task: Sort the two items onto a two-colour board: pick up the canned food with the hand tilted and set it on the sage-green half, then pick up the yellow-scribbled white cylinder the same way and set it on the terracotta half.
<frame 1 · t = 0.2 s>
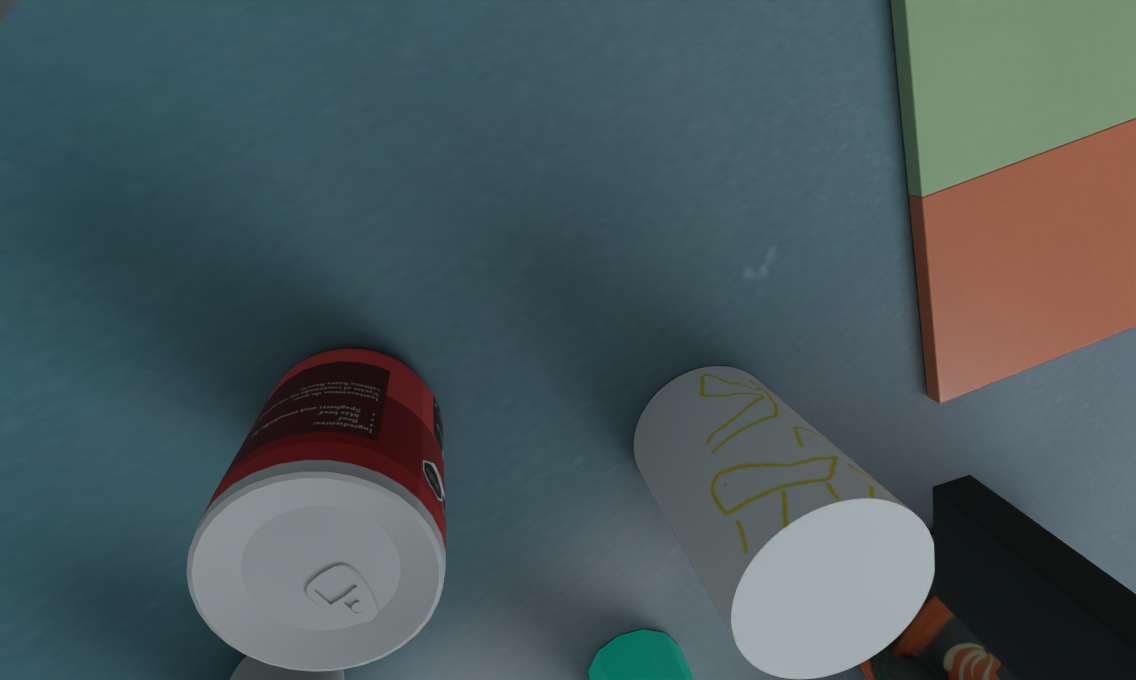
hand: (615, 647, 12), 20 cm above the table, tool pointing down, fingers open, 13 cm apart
yellow-scribbled white cylinder: (704, 434, 34), on the table
tankard: (917, 606, 43), on the table
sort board: (1023, 152, 32), on the table
candle: (634, 665, 39), on the table
canned food: (359, 417, 30), on the table
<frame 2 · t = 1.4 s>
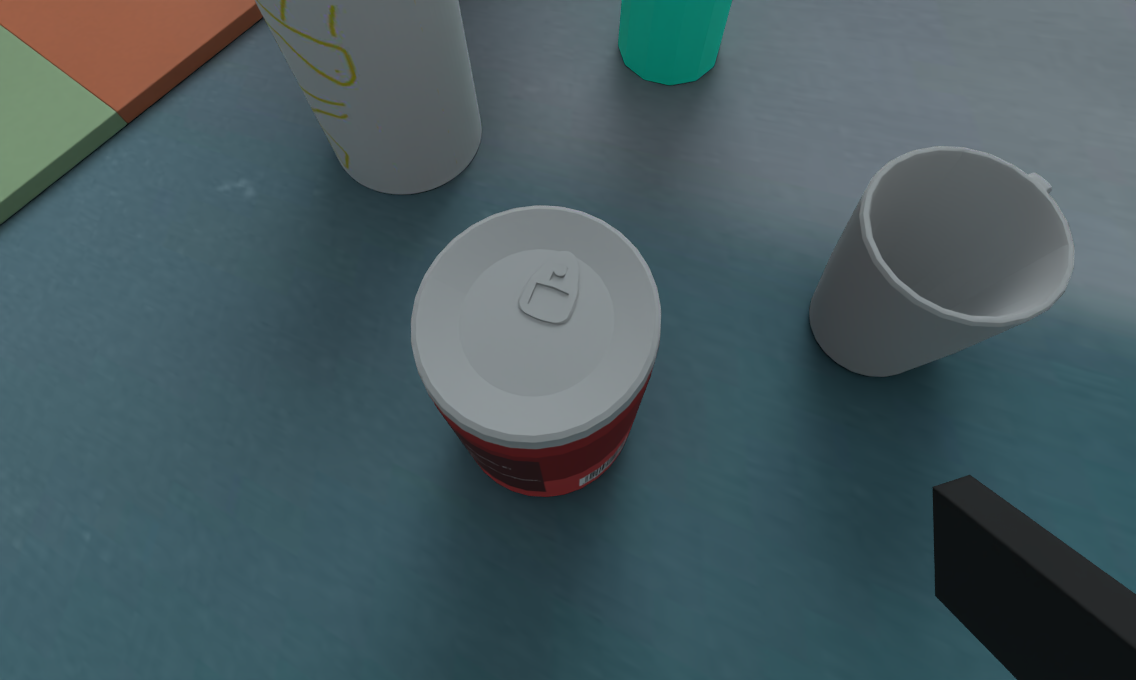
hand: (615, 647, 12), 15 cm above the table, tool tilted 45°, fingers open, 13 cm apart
cup 2: (882, 312, 31), on the table
yellow-scribbled white cylinder: (409, 135, 36), on the table
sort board: (57, 70, 37), on the table
candle: (668, 48, 38), on the table
canned food: (548, 413, 30), on the table
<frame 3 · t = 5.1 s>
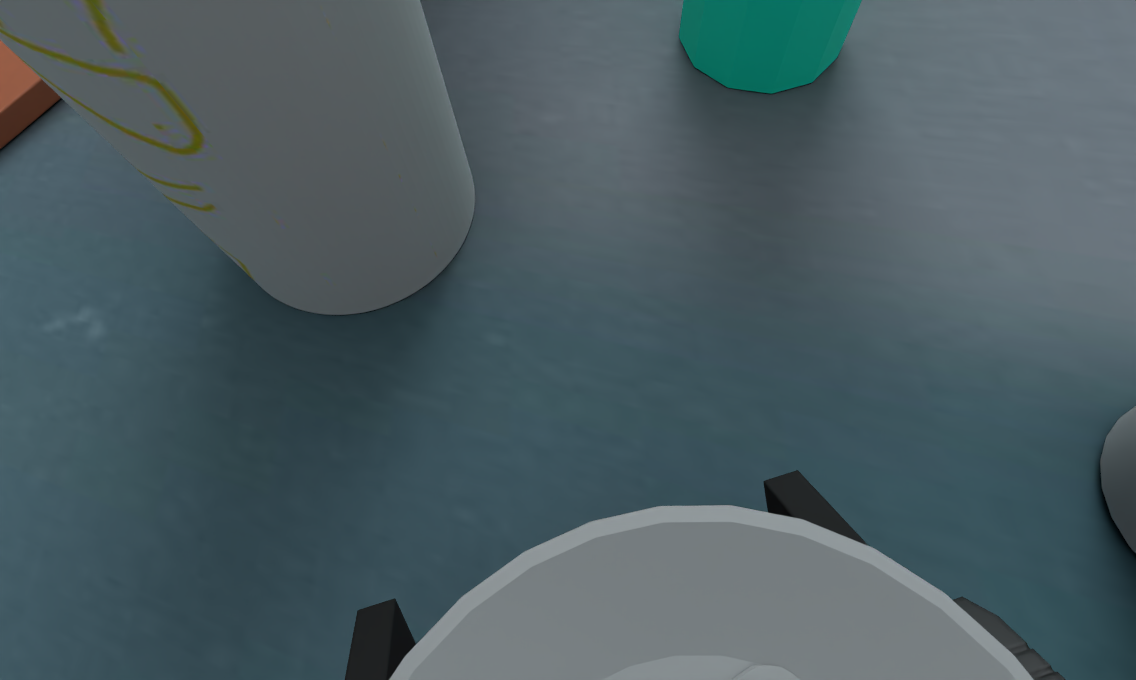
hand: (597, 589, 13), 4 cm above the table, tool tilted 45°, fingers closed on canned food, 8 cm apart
yellow-scribbled white cylinder: (358, 209, 22), on the table
candle: (757, 36, 24), on the table
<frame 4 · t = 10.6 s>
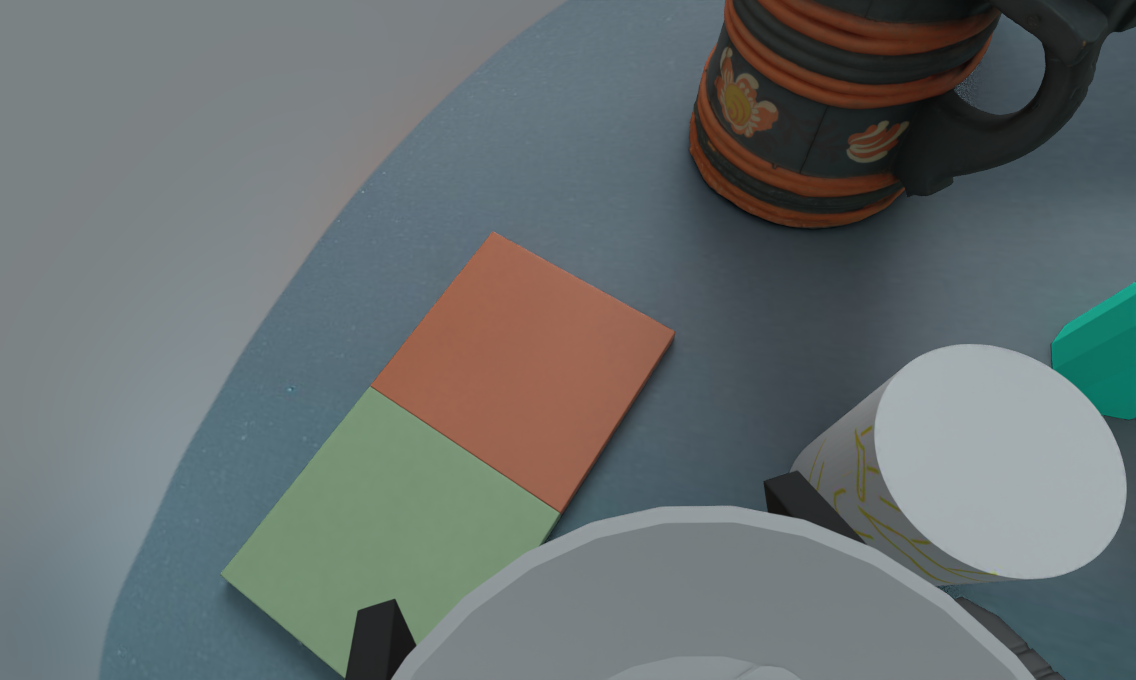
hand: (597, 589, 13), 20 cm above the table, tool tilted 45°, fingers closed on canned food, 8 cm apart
yellow-scribbled white cylinder: (864, 505, 33), on the table
tankard: (822, 162, 42), on the table
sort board: (464, 450, 35), on the table
candle: (1105, 368, 35), on the table
when the fingers open (4 cm above the table, at t = 16.4 s): canned food stays where it is, resting on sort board.
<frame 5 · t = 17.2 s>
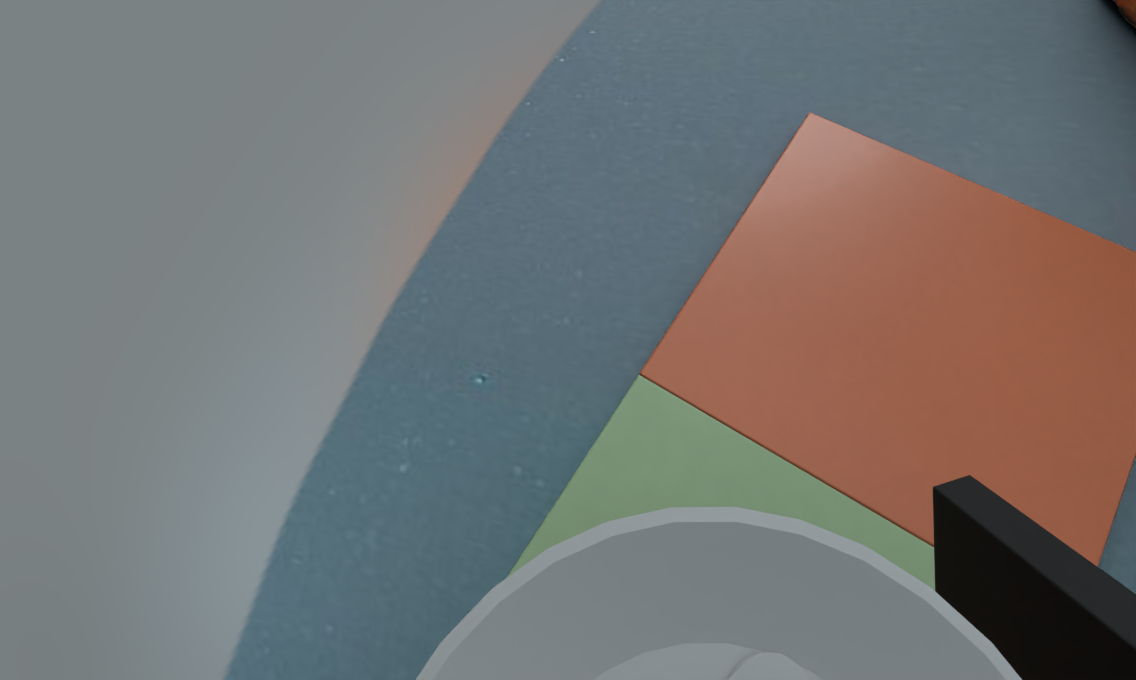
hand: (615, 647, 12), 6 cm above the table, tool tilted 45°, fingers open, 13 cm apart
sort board: (826, 496, 19), on the table
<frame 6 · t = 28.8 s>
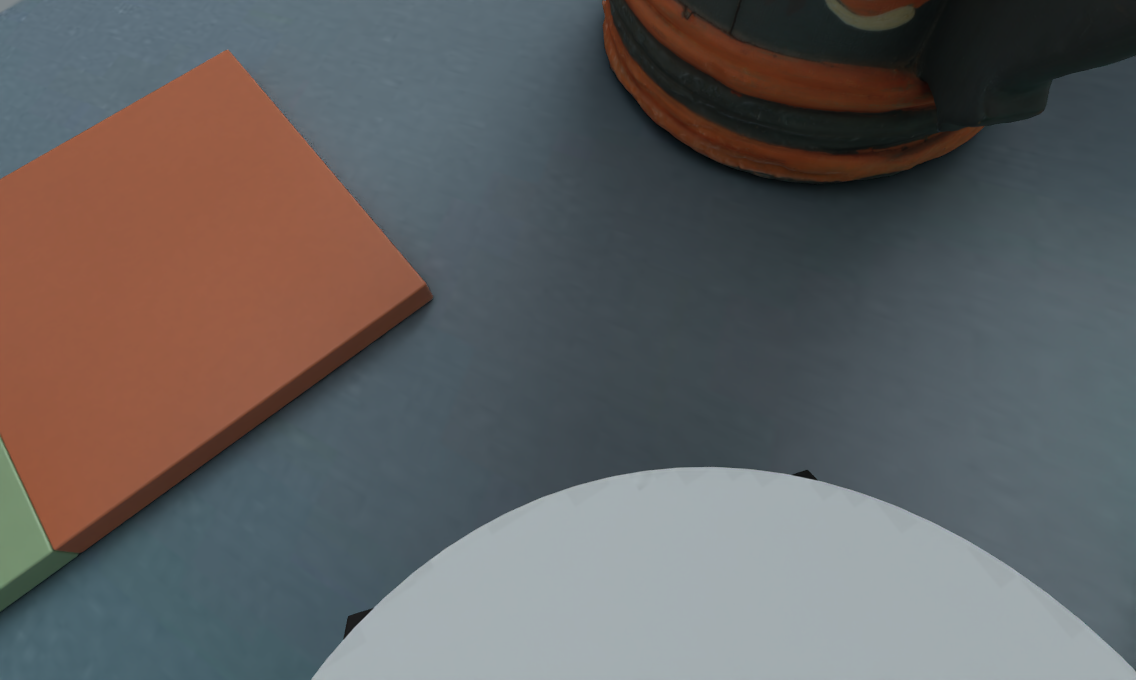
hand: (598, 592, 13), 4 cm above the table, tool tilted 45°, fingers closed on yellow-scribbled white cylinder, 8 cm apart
tankard: (826, 78, 23), on the table
when the fingers open (5 cm above the table, at t = 37.9 s): yellow-scribbled white cylinder stays where it is, resting on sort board.
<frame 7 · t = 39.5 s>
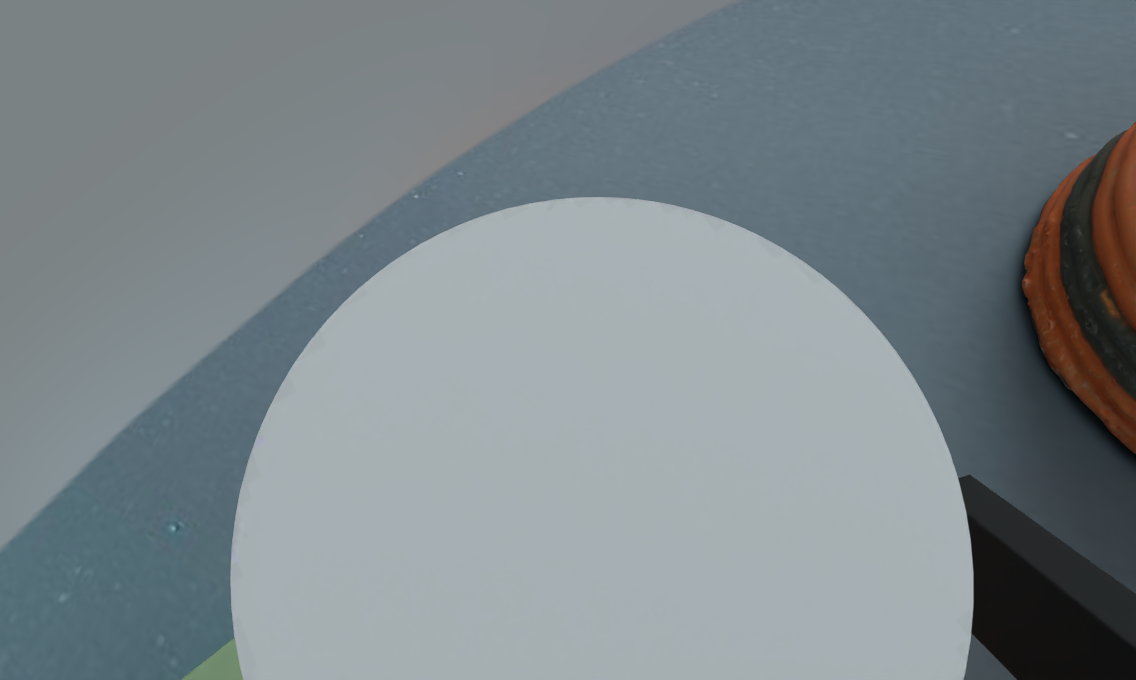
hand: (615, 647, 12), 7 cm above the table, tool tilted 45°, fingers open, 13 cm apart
yellow-scribbled white cylinder: (597, 566, 18), point 1 cm above the table, touching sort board
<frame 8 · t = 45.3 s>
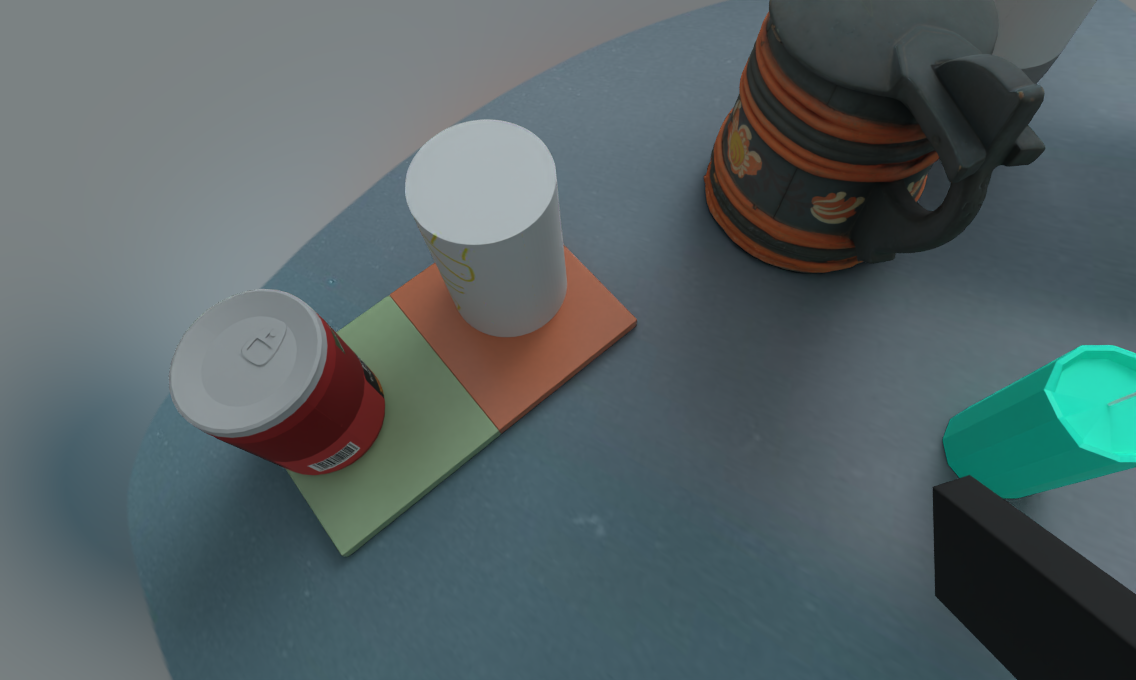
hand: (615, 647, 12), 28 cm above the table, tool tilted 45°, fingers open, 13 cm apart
yellow-scribbled white cylinder: (510, 285, 45), point 1 cm above the table, touching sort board
tankard: (814, 216, 47), on the table
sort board: (444, 364, 44), on the table
candle: (990, 452, 40), on the table
smart speaker: (957, 84, 52), on the table
canned food: (331, 418, 42), point 1 cm above the table, touching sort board
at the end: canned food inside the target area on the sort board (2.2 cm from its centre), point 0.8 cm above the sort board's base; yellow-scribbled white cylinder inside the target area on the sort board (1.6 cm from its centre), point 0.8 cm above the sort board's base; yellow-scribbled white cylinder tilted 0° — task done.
